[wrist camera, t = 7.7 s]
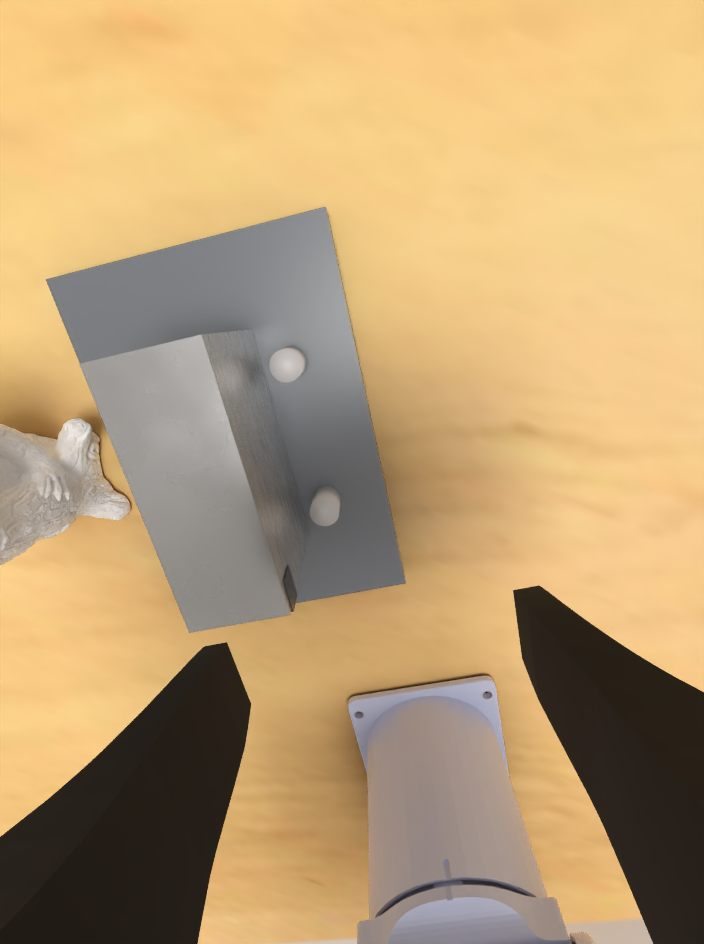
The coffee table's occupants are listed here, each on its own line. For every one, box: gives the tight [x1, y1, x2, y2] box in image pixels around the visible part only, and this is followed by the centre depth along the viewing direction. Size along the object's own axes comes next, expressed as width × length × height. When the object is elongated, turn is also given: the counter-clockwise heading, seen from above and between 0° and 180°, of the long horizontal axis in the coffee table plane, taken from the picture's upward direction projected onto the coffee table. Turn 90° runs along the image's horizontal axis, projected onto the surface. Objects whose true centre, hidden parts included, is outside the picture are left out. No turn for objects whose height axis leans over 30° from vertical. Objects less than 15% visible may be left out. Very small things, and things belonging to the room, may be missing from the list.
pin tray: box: [46, 207, 406, 603], centre depth 19 cm, size 16×11×3 cm
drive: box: [80, 329, 310, 633], centre depth 16 cm, size 9×4×6 cm, turn 13°
